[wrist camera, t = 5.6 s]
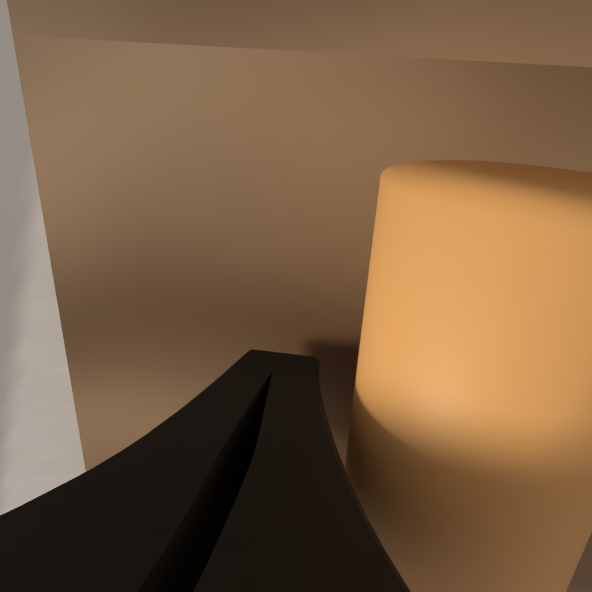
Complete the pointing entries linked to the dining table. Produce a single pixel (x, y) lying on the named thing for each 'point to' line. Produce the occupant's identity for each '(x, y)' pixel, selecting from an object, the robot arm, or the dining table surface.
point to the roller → (477, 376)
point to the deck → (262, 172)
